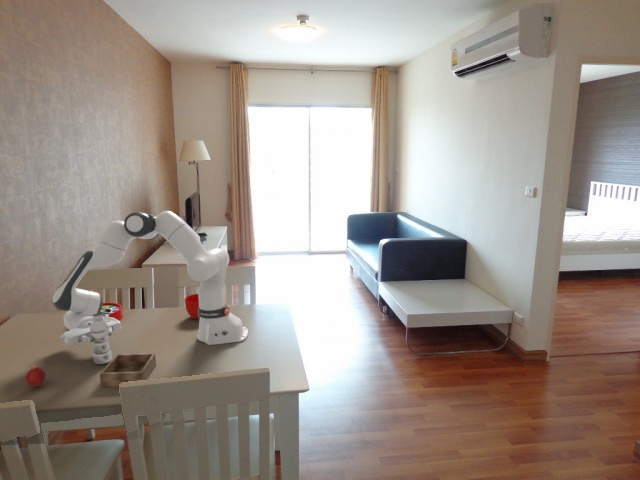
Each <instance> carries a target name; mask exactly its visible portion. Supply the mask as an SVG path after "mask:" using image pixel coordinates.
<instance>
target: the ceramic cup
mask: <svg viewBox="0 0 640 480" xmlns="http://www.w3.org/2000/svg"><path fill="white" fill-rule="evenodd" d="M184 305H185V310H186V312H187V313H188V315H189V316H190V317H191V318H192V319H193V320H199V317H198V307H199V298H198V293H194V294H190V295H187V296H186V297H185V298H184Z"/></svg>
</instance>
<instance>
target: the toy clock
mask: <svg viewBox="0 0 640 480" xmlns="http://www.w3.org/2000/svg"><path fill="white" fill-rule="evenodd" d="M100 313H103V315H109V317H112V318H115V319H117V320H119V321H120V322H121V321H122V320H123V307H122V305H121V304H120V303H118V302H117V303H116V302H103V306H102V309H101V311H100Z"/></svg>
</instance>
